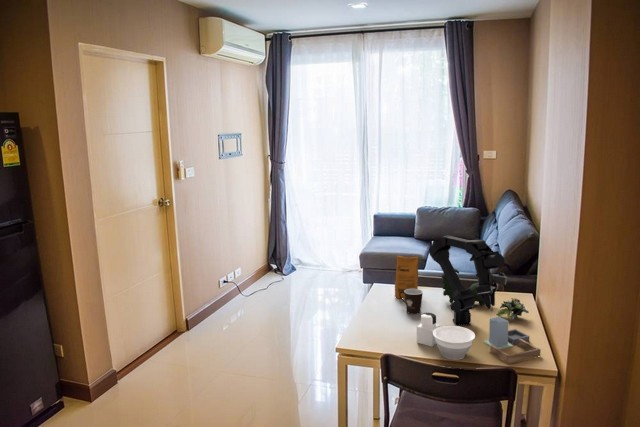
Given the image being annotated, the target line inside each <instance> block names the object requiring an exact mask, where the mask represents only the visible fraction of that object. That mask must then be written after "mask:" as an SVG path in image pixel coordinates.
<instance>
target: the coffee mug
mask: <svg viewBox="0 0 640 427" xmlns="http://www.w3.org/2000/svg"><path fill="white" fill-rule="evenodd" d="M423 292H424V291H423V290H421V289H419V288H418V289H407V290H405V291H404V292H403V291H401V292H400V293H399V296H400V298H401V301H402V302H403V303H404V304H405V307H406V313H408V312H409V313H408V314H410V313H413V314H412V315H418V314H421V308H422V301H423V300H422V299H423ZM401 293H404V294H405V299H402V297H401V295H400V294H401ZM417 313H418V314H417Z"/></svg>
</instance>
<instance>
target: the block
mask: <svg viewBox="0 0 640 427" xmlns="http://www.w3.org/2000/svg"><path fill="white" fill-rule="evenodd" d="M508 330H509V319H508V320H507V319H505V318H504V317H501V316H496V317H492V318H491V317H490V318H489V332H488V333H489V334H488V336H489V337H488V340H489V342H490V343H492V344H493V345H495V346H497V347H499V346H504V345H508V343H509V342H508Z"/></svg>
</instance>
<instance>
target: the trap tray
mask: <svg viewBox="0 0 640 427" xmlns="http://www.w3.org/2000/svg"><path fill="white" fill-rule="evenodd" d="M519 339H522V340H524V341H526V342H530V335H528V334H526V333H525V332H522V331H521V330H518V329H517V328H513V329H508V343H510V344H512V345H513V346H514V345H519Z"/></svg>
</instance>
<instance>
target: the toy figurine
mask: <svg viewBox="0 0 640 427" xmlns="http://www.w3.org/2000/svg"><path fill="white" fill-rule="evenodd" d="M454 270H455V272H456V273H457V275H459V274H460V271H459V270H458V269H456V268H454ZM441 279H442V280H441V283H442V290H443V292H442V295H443V296H444V297H446V296H448V298H449V303H451V304H452V303H453V302H454V299H453V294H454V292H453V290H452V288H451V286H450V284H449V282H448V280H447V278H446V276H445V274H444V272H443V273H442V274H441ZM478 284H479V282H475V283H473V284H471V285H470V286H469V288H468V289H470V290H471V291H472V294H473V295H474V296H475V297H474V298H475V303H476V302H477V303H478V304H479V305H480V306H485V304H484V303H483V301H482V300H481V299H480V297H479V296H478V295H477V294H478V293H476V292H475V288H476V287H477V286H478Z"/></svg>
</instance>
